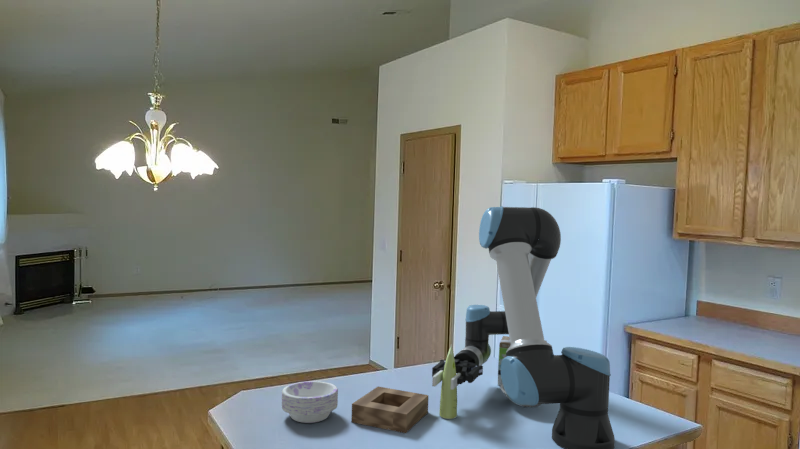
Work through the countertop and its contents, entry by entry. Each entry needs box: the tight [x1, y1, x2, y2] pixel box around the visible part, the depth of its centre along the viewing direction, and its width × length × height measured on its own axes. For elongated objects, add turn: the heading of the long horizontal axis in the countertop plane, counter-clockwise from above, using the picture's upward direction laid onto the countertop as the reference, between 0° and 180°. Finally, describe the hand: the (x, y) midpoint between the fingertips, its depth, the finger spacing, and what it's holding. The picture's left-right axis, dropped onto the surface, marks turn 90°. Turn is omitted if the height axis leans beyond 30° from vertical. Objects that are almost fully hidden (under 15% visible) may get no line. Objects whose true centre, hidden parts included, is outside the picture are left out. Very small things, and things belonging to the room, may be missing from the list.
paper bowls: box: [281, 380, 339, 424], centre depth 152 cm, size 15×15×8 cm
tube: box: [439, 344, 458, 420], centre depth 154 cm, size 6×5×20 cm
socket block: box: [351, 386, 429, 434], centre depth 153 cm, size 16×16×5 cm
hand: (442, 383), depth 149 cm, fingers open, 4 cm apart
